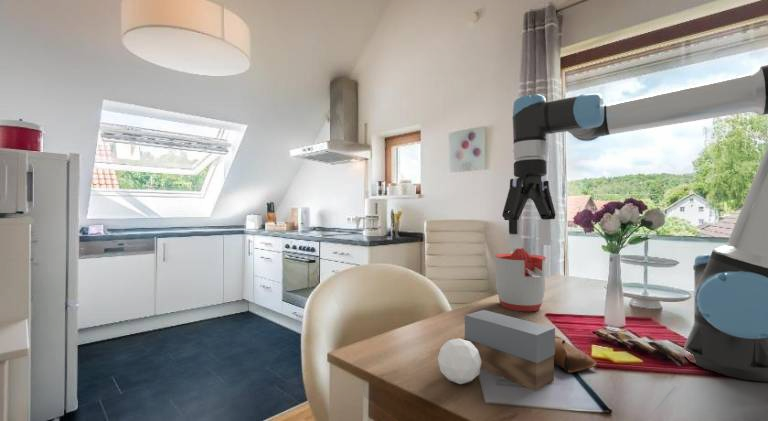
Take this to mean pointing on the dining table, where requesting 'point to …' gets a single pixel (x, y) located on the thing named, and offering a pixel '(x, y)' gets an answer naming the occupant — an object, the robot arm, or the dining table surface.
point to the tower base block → (516, 367)
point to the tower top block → (511, 335)
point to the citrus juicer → (520, 280)
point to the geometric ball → (459, 361)
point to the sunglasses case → (571, 357)
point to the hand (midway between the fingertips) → (531, 246)
